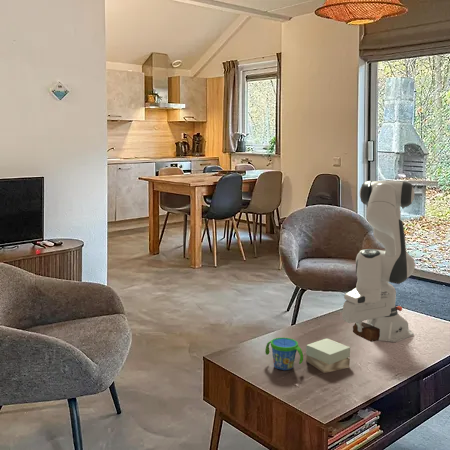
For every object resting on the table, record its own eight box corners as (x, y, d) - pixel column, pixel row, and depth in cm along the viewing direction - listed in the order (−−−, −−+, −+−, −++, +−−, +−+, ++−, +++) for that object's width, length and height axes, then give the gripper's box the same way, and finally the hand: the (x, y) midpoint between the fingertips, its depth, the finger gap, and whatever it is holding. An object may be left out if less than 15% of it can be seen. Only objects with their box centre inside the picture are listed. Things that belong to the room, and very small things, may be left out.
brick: (379, 340, 200) (380, 328, 199) (371, 342, 198) (372, 330, 197) (360, 331, 209) (361, 320, 208) (352, 333, 207) (352, 321, 207)
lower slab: (330, 357, 226) (331, 348, 225) (349, 368, 215) (349, 358, 214) (306, 362, 220) (306, 352, 220) (324, 374, 210) (324, 364, 209)
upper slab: (326, 347, 225) (326, 338, 225) (349, 356, 216) (350, 347, 216) (306, 354, 218) (306, 344, 217) (329, 364, 209) (329, 354, 208)
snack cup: (308, 368, 214) (308, 343, 212) (292, 377, 206) (293, 351, 204) (275, 357, 224) (275, 333, 222) (259, 365, 216) (260, 341, 214)
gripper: (384, 288, 208) (382, 323, 210) (340, 295, 199) (339, 331, 201) (396, 292, 202) (393, 328, 205) (351, 300, 193) (350, 337, 196)
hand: (366, 330), depth 203 cm, fingers closed on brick, 4 cm apart
